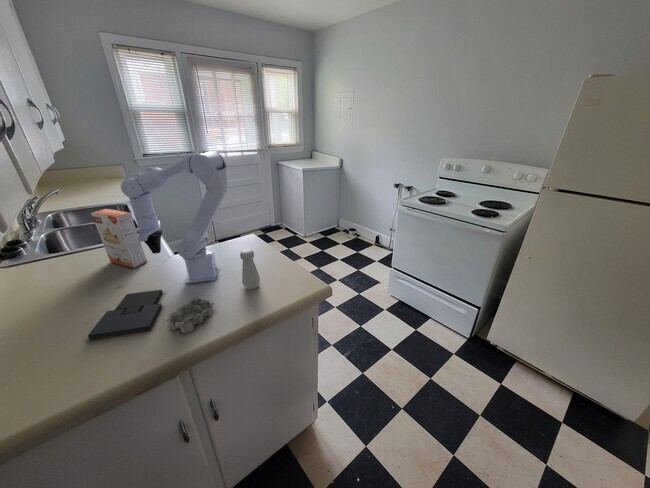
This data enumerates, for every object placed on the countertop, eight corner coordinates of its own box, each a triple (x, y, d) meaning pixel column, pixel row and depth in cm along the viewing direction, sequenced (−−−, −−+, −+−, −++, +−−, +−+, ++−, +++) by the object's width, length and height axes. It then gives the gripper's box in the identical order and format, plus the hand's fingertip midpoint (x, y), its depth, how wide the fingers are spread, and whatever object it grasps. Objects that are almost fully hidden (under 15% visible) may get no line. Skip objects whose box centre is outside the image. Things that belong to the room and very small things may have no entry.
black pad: (162, 293, 87) (161, 289, 86) (151, 314, 77) (149, 310, 77) (128, 297, 85) (126, 293, 84) (111, 320, 75) (110, 315, 75)
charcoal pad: (162, 307, 80) (160, 303, 80) (150, 330, 71) (149, 325, 71) (108, 315, 77) (107, 310, 77) (89, 339, 68) (87, 335, 68)
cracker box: (109, 263, 107) (89, 212, 98) (124, 256, 112) (107, 207, 103) (132, 269, 102) (114, 216, 93) (147, 262, 107) (131, 211, 98)
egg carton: (186, 335, 69) (182, 323, 68) (166, 327, 72) (162, 315, 70) (217, 311, 78) (214, 299, 76) (198, 304, 81) (195, 293, 79)
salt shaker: (264, 283, 91) (260, 249, 86) (253, 292, 86) (248, 256, 81) (250, 280, 93) (245, 246, 88) (239, 288, 89) (233, 253, 83)
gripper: (140, 209, 93) (151, 245, 99) (121, 223, 80) (135, 263, 86) (162, 207, 95) (172, 243, 100) (147, 221, 82) (160, 260, 87)
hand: (156, 252), depth 93 cm, fingers closed
